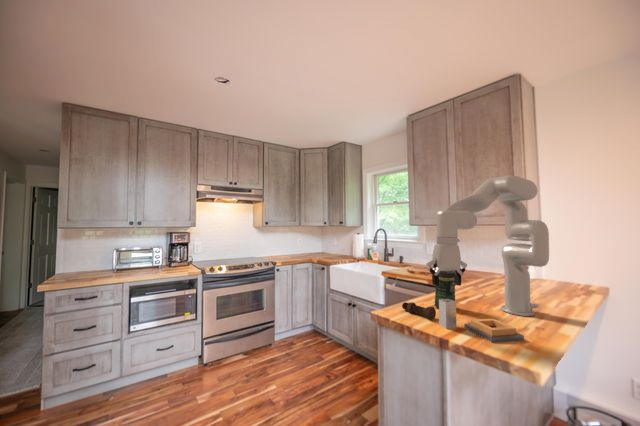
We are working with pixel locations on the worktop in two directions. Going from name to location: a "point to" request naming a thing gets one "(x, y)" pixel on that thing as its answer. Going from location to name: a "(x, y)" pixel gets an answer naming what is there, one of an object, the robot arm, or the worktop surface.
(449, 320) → the block
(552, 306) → the worktop surface
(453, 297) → the coffee jar
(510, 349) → the worktop surface
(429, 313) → the bolt
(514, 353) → the worktop surface
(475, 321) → the square socket base
